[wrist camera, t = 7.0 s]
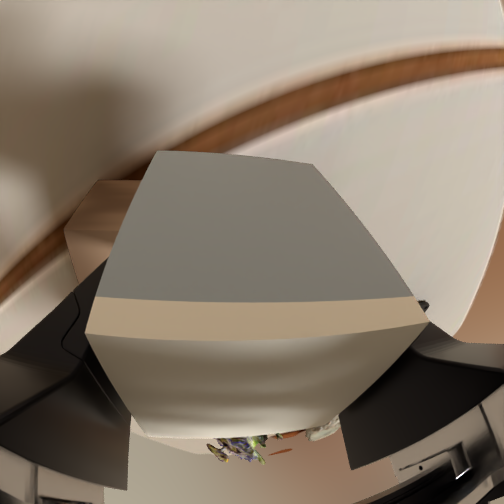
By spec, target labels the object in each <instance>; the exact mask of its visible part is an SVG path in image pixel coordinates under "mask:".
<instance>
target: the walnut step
mask: <svg viewBox="0 0 504 504" xmlns="http://www.w3.org/2000/svg"><path fill="white" fill-rule="evenodd" d="M141 181H142V180H98V181H97V182H96V183H95V184H94V186H93V187H92V188H91V190H90V191H89V193H88V194H87V195H86V197H85V198H84V199H83V201H82V202H81V204H80V205H79V207H78V208H77V209H76V211H75V212H74V214H73V215H72V217H71V218H70V220H69V221H68V223H67V224H66V226H65V228H64V229H63V230H64V235H65V238H66V242H67V246H68V250H69V253H70V257H71V260H72V264H73V267H74V270H75V273H76V277H77V280H78V283H79V284H80V283H81V282H82V281H83V280H84V279H85V278H86V277H87V276H88V275H90V274H91V273H92V272H93V271H94V270H95V269H96V268H97V267H98V266H99V265H100V264H101V263H102V262H103V261H105V260H106V259H107V258H108V257H109V255H110V252H111V250H112V247H113V245H114V242H115V240H116V237H117V235H118V232H119V230H120V227H121V225H122V223H123V220H124V218H125V216H126V213H127V211H128V209H129V206H130V204H131V202H132V200H133V198H134V196H135V193H136V191H137V189H138V187H139V185H140V183H141Z"/></svg>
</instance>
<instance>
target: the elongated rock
mask: <svg viewBox="0 0 504 504" xmlns="http://www.w3.org/2000/svg"><path fill="white" fill-rule="evenodd" d="M338 415H339V414H338ZM338 415H337V416H336V417H334V418H333V419H332V420H331V421H329V422H328V423H327V424H325V425H323V426H318V427H313V428H307V429H306V437H307V438H308V440H309V441H315V440H319V439H321V438H324V437H327V436H329V435H330V434H333V433H335V432H336V431H337V429H338V428H339V427H341V425H340V421H339V417H338Z"/></svg>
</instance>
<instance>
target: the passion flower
mask: <svg viewBox="0 0 504 504" xmlns="http://www.w3.org/2000/svg"><path fill="white" fill-rule="evenodd" d="M276 436H277V440H282V439H283V438H282V435H280V434H279V433H276ZM213 439H216V440H217V441H218V444H220V446H223V448H221V449H217V448H215V447H214V446H212V445H210V444H207V447H208V449H209V450H210V451H211V452H212V453H214V454H215V456H216V457H217V458H218V459H219V460H220V461H225V462H228V459H229V457H228V456H227V455H226V454H225V453H223V452H224V450H225V449H227V450H228V451H229V453H230V452H231V453H232V454H234V455H235V456H240V458H241V459H243V458H244V459H246V460H248V461H249V462H251V459H254V460H259V461H260V463H261V464H265V461H264V459H263V458H262V457H261V455H260V454H259V453H258V452H257V451H256V450H255V449H254V448H255V446H256V445H257V444H258V443H260V444H261V446H260V447H264V448H265V447H266V445H265V441H266V440H267V439H268V438H267V435H258V436H247V437H233V438H213Z"/></svg>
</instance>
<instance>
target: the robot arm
mask: <svg viewBox="0 0 504 504" xmlns="http://www.w3.org/2000/svg"><path fill="white" fill-rule="evenodd" d="M108 258H109V257H108ZM108 258H107V259H106V260H105V261H103V262H102V263H101V264H100V265H99V266H98V267H97V268H96V269H95V270H94V271H93V272H92V273H91V274H90V275H88V276H87V277H86V278H85V279H84V280H83V281H82V282H81V283H80V284H79V285H78V286H77V287H76V288H75V289H74V290H73V292H71V293H70V294H69V295H68V296H67V297H66V298H65V299H64V300H63V301H62V302H61V303H60V304H59V305H58V306H57V307H56V308H55V309H54V310H53V311H52V312H50V313H49V314H48V315H47V316H46V317H45V318H44V319H43V320H42V321H41V322H39V323H38V324H37V325H36V326H35V327H34V328H33V329H32V330H30V331H29V332H28V333H27V334H26V335H25V336H24V337H23V338H22V339H21V340H20V341H18V342H17V343H16V344H15V345H14V346H13V347H12V348H11V349H10V350H8V351H7V352H6V353H4V354H2V355H0V504H104V487H108V488H114V489H120V490H127V478H128V452H129V437H130V424H131V413H130V412H129V410H128V409H127V407H126V406H125V404H124V402H123V401H122V399H121V398H120V396H119V395H118V393H117V391H116V390H115V388H114V387H113V385H112V383H111V382H110V380H109V378H108V376H107V375H106V373H105V371H104V369H103V368H102V366H101V364H100V362H99V360H98V358H97V357H96V355H95V353H94V351H93V349H92V347H91V345H90V343H89V341H88V339H87V337H86V335H85V330H86V326H87V323H88V319H89V316H90V312H91V309H92V305H93V302H94V299H95V296H96V292H97V289H98V286H99V283H100V280H101V277H102V274H103V272H104V269H105V266H106V263H107V260H108ZM419 305H420V306H421V308H422V310H423V311H424V313H425V311H426V310H427V309H428V307H429V304H428V302H423V303H419ZM338 417H339V421H340V425H341V429H342V433H343V438H344V442H345V446H346V451H347V455H348V460H349V464H350V468H351V470H354V469H358V468H360V467H363V466H366V465H369V464H372V463H374V462H377V461H379V460H382V459H384V458H387V457H390V461H391V464H392V467H393V470H394V473H395V476H397V477H398V481H399V484H398V485H396V486H394V487H392V488H390V489H388V490H385V491H383V492H381V493H378V494H376V495H374V496H371V497H369V498H366V499H364V500H361V501H359V502H356V503H353V504H490V501H492V500H495V499H497V498H500V497H503V496H504V344H480V343H478V344H477V343H466V342H461V341H459V340H456V339H454V338H453V337H451V336H450V335H448V334H447V333H446V332H444V331H443V330H442V329H440V328H439V327H437V326H436V325H435V324H433V323H432V322H429V323H428V325H427V326H426V327H425V328H424V329H423V331H422V332H421V333H420V334H419V335H418V337H417V338H416V339H415V340H414V341H413V342H412V343H411V345H410V346H409V347H408V348H407V349H406V350H405V351H404V352H403V353H402V355H401V356H400V357H399V358H398V359H397V360H396V361H395V362H394V363H393V364H392V365H391V366H390V367H389V368H388V369H387V370H386V371H385V372H384V373H383V374H382V375H381V376H380V377H379V378H378V379H377V380H376V381H375V382H374V383H373V384H372V385H371V386H370V387H369V388H368V389H367V390H366V391H364V392H363V393H362V394H361V395H360V396H359V397H358V398H357V399H356V400H354V401H353V402H352V403H351V404H350V405H349V406H348V407H346V408H345V409H344V410H343V411H342V412H340V413H339V415H338Z"/></svg>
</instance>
